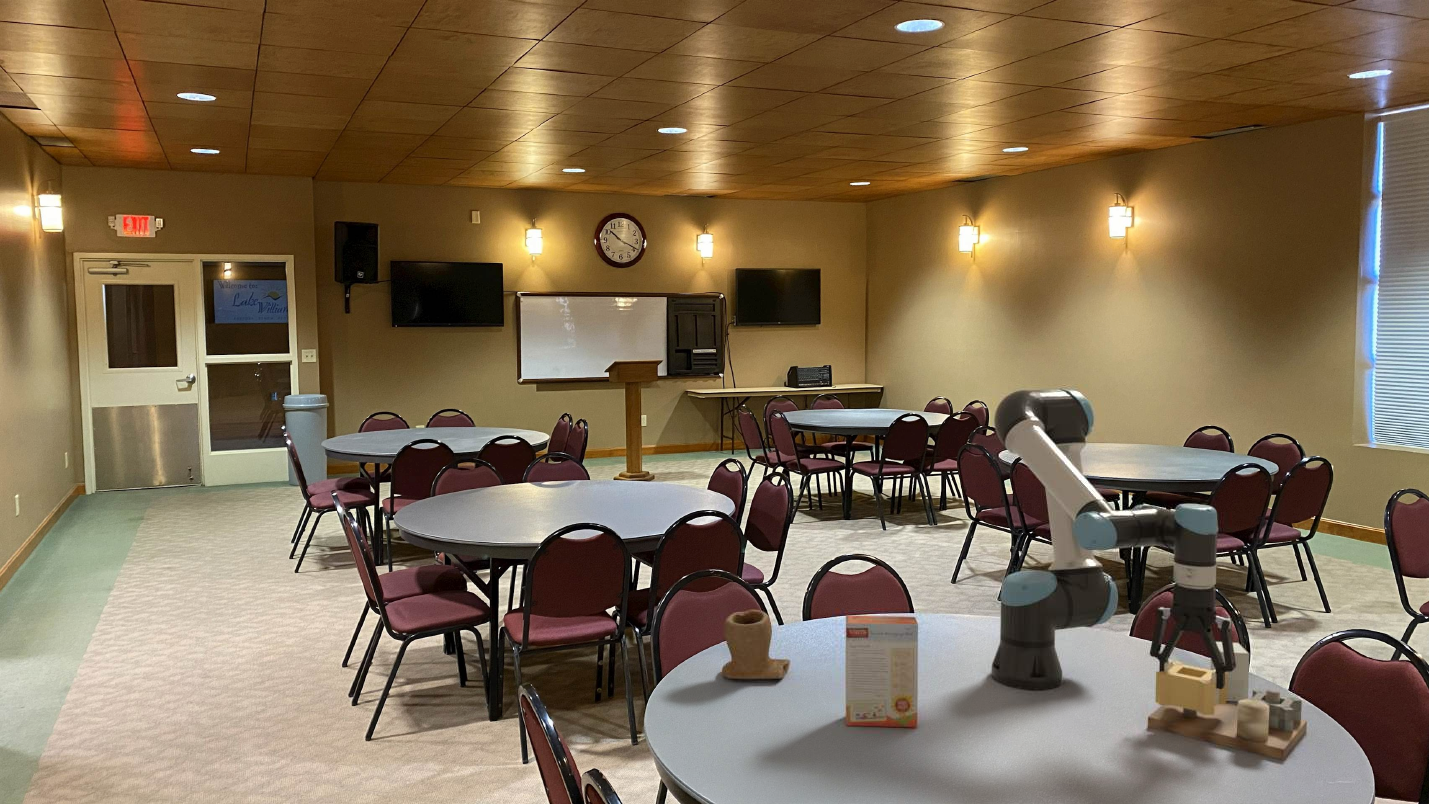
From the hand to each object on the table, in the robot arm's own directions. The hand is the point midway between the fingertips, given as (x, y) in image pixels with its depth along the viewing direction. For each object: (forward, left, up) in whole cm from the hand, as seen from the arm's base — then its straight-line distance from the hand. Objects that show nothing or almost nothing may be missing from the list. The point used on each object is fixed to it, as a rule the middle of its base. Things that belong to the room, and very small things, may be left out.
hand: (1190, 698), depth 206 cm
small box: (+1, +23, -6) cm, 24 cm away
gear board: (+6, +3, -5) cm, 9 cm away
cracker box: (-47, -38, -6) cm, 61 cm away
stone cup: (-82, -34, -6) cm, 89 cm away
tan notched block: (0, 0, -1) cm, 1 cm away
